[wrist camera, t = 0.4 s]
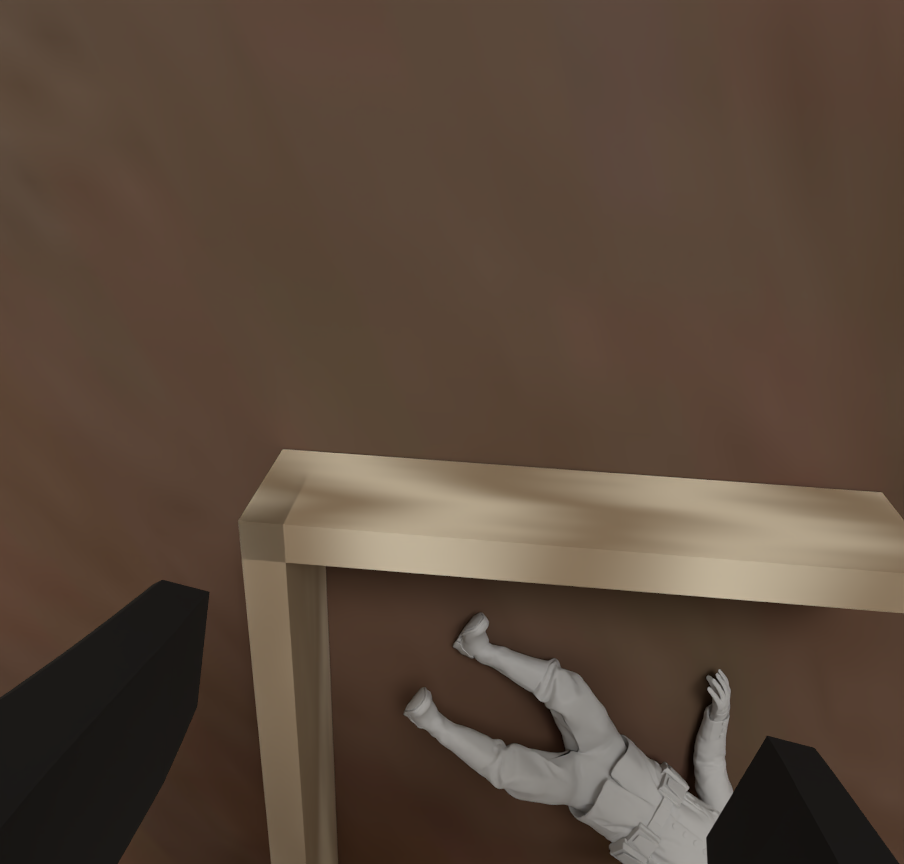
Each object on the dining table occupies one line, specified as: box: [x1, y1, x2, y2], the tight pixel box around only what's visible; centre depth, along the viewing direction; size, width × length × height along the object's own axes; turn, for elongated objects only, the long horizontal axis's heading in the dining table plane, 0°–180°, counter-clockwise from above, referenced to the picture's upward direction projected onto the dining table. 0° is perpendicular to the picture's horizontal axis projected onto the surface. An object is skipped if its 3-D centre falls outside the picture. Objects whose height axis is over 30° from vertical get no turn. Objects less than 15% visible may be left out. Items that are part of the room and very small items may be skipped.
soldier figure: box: [403, 612, 733, 864], centre depth 22 cm, size 8×5×12 cm
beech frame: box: [238, 449, 904, 864], centre depth 23 cm, size 15×18×4 cm
